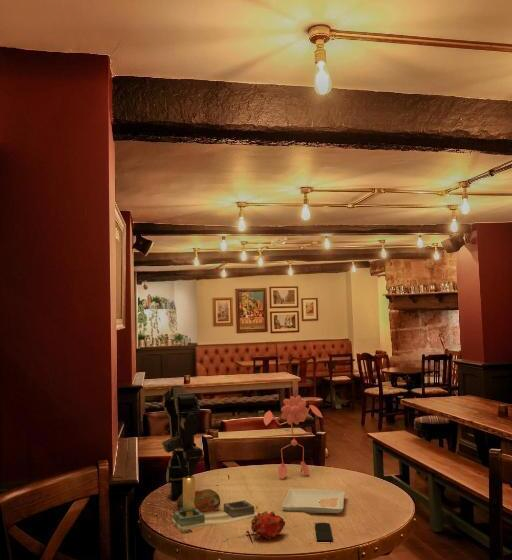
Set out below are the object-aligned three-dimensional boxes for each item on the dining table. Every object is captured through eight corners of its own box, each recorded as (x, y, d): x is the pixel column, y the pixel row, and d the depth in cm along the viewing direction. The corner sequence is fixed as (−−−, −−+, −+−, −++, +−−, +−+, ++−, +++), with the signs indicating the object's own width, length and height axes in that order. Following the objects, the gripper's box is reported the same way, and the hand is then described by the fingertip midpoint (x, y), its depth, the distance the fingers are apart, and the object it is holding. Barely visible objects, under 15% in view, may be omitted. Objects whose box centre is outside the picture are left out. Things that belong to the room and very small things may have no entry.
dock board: (171, 522, 192) (171, 511, 192) (247, 509, 204) (247, 498, 204) (182, 533, 181) (182, 521, 182) (262, 518, 193) (261, 508, 194)
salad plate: (343, 518, 193) (343, 507, 193) (281, 515, 197) (281, 505, 197) (345, 499, 214) (345, 489, 214) (289, 497, 218) (289, 488, 218)
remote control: (333, 546, 170) (330, 526, 185) (333, 540, 170) (329, 521, 185) (316, 546, 171) (314, 526, 186) (316, 540, 171) (314, 521, 186)
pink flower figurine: (261, 477, 246) (260, 395, 248) (317, 472, 253) (315, 392, 255) (273, 487, 231) (272, 400, 233) (331, 481, 239) (330, 396, 241)
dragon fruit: (247, 545, 174) (282, 544, 179) (258, 535, 169) (294, 534, 173) (243, 517, 180) (277, 517, 184) (254, 506, 174) (289, 506, 179)
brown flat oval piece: (177, 518, 195) (177, 493, 196) (176, 516, 198) (176, 491, 199) (220, 514, 199) (220, 489, 200) (218, 511, 202) (218, 486, 203)
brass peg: (184, 518, 192) (184, 476, 193) (196, 519, 191) (196, 476, 192) (181, 523, 188) (181, 479, 189) (193, 523, 187) (193, 479, 189)
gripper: (157, 427, 211) (157, 470, 210) (172, 435, 194) (172, 482, 193) (186, 424, 216) (186, 466, 215) (203, 432, 199) (203, 478, 198)
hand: (186, 473), depth 205 cm, fingers open, 9 cm apart
